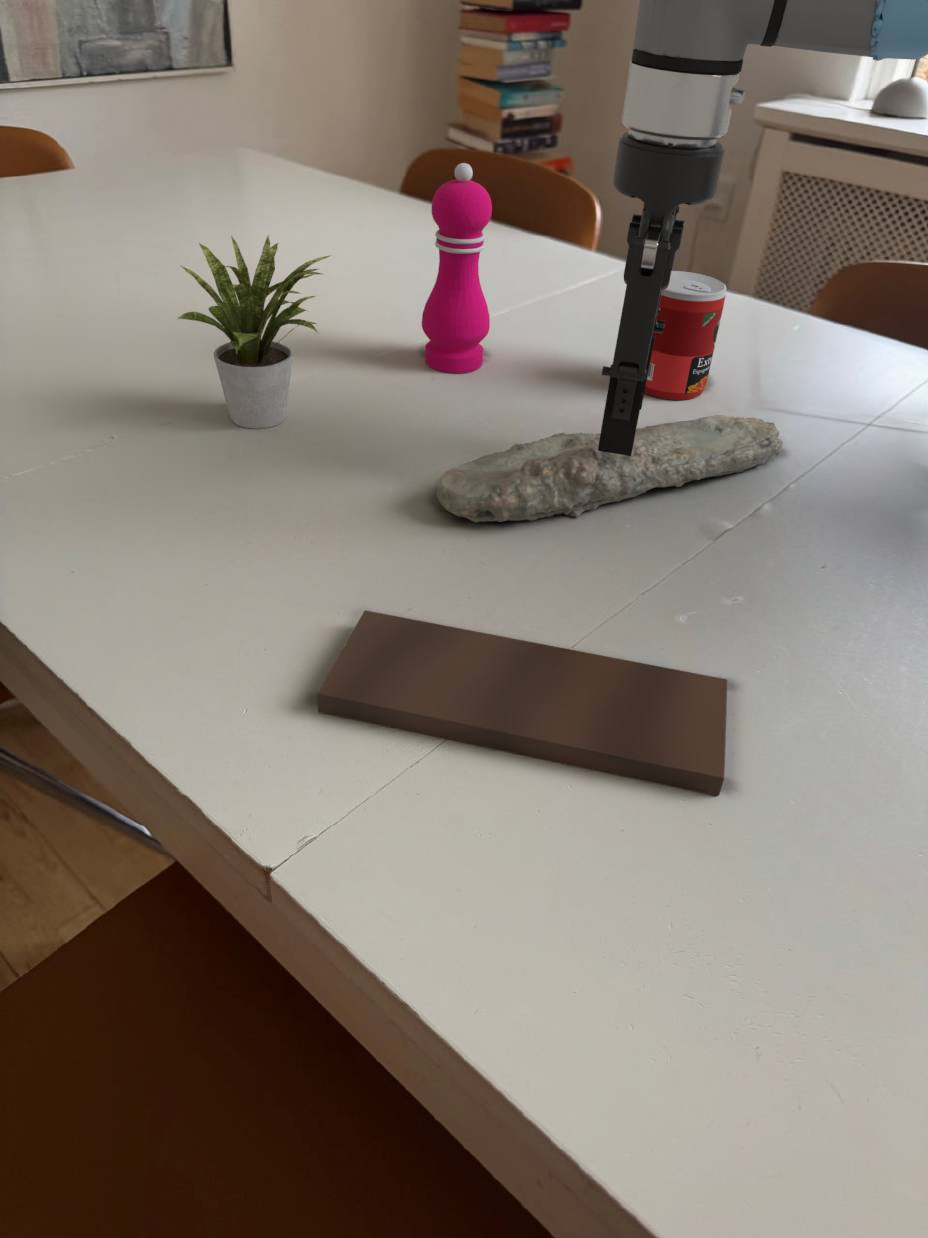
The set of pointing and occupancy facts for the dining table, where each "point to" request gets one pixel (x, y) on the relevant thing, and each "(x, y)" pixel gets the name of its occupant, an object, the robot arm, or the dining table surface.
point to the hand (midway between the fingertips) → (620, 427)
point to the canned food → (685, 336)
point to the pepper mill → (458, 276)
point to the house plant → (253, 336)
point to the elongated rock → (602, 468)
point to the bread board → (533, 700)
